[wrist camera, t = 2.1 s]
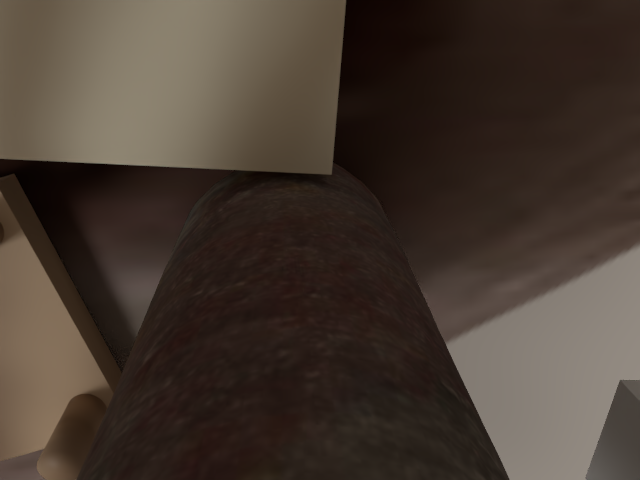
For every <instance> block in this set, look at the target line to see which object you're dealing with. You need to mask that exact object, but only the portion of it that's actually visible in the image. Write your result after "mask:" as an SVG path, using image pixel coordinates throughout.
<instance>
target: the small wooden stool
mask: <svg viewBox="0 0 640 480" xmlns="http://www.w3.org/2000/svg"><path fill="white" fill-rule="evenodd" d="M345 8H346V0H0V159H16V160H37V161H58V162H79V163H100V164H120V165H141V166H162V167H183V168H204V169H224V170H245V171H266V172H287V173H308V174H328V175H332V165H333V153H334V141H335V129H336V117H337V105H338V93H339V81H340V69H341V56H342V44H343V32H344V20H345Z"/></svg>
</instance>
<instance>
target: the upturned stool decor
mask: <svg viewBox="0 0 640 480" xmlns="http://www.w3.org/2000/svg"><path fill="white" fill-rule="evenodd" d="M121 374H122V372H121V371H120V369H119V367H118V365H117V363H116V361H115V359H114V358H113V356H112V354H111V352H110V350H109V348H108V346H107V345H106V343H105V341H104V339H103V337H102V335H101V334H100V332H99V330H98V328H97V326H96V324H95V322H94V321H93V319H92V317H91V315H90V313H89V311H88V309H87V308H86V306H85V304H84V302H83V300H82V298H81V297H80V295H79V293H78V291H77V289H76V287H75V285H74V284H73V282H72V280H71V278H70V276H69V274H68V272H67V271H66V269H65V267H64V265H63V263H62V261H61V259H60V258H59V256H58V254H57V252H56V250H55V248H54V247H53V245H52V243H51V241H50V239H49V237H48V235H47V234H46V232H45V230H44V228H43V226H42V224H41V222H40V221H39V219H38V217H37V215H36V213H35V211H34V210H33V208H32V206H31V204H30V202H29V200H28V198H27V197H26V195H25V193H24V191H23V189H22V187H21V185H20V184H19V182H18V180H17V178H16V176H15V174H11V175H8V176H4V177H1V178H0V461H3V460H6V459H10V458H14V457H17V456H21V455H24V454H28V453H31V452H35V451H38V450H42V449H44V450H43V452H42V454H41V456H40V458H39V459H38V462H37V470H38V472H39V474H40V475H41V476H42V477H43V478H45V479H46V480H76V479H77V477H78V475H79V473H80V471H81V468H82V466H83V464H84V461H85V459H86V457H87V455H88V452H89V450H90V448H91V445H92V443H93V441H94V438H95V436H96V434H97V431H98V429H99V427H100V424H101V422H102V420H103V417H104V415H105V413H106V410H107V408H108V406H109V404H110V401H111V399H112V397H113V395H114V392H115V389H116V387H117V384H118V382H119V379H120V377H121Z"/></svg>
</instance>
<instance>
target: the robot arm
mask: <svg viewBox="0 0 640 480" xmlns="http://www.w3.org/2000/svg"><path fill="white" fill-rule="evenodd" d="M586 479H587V480H640V380H620V382H619V385H618V387H617V390H616V393H615V396H614V399H613V402H612V404H611V408H610V410H609V413H608V416H607V419H606V421H605V424H604V427H603V430H602V433H601V436H600V439H599V441H598V444H597V447H596V450H595V453H594V455H593V458H592V461H591V464H590V467H589V470H588V472H587V475H586Z"/></svg>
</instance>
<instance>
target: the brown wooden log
mask: <svg viewBox="0 0 640 480" xmlns="http://www.w3.org/2000/svg"><path fill="white" fill-rule="evenodd" d="M77 480H509V478H508V475H507V473H506V471H505V469H504V467H503V464H502V462H501V460H500V458H499V456H498V453H497V452H496V450H495V447H494V445H493V443H492V442H491V439H490V437H489V435H488V433H487V431H486V429H485V427H484V425H483V423H482V421H481V419H480V416H479V414H478V412H477V410H476V408H475V406H474V404H473V402H472V400H471V398H470V395H469V393H468V391H467V389H466V387H465V385H464V383H463V381H462V379H461V377H460V375H459V372H458V370H457V368H456V366H455V364H454V362H453V360H452V357H451V355H450V353H449V351H448V349H447V346H446V344H445V342H444V340H443V338H442V336H441V334H440V332H439V330H438V328H437V325H436V323H435V321H434V318H433V316H432V314H431V311H430V309H429V307H428V305H427V303H426V301H425V298H424V296H423V294H422V292H421V290H420V287H419V285H418V283H417V281H416V279H415V277H414V275H413V273H412V270H411V268H410V266H409V264H408V261H407V258H406V256H405V254H404V252H403V250H402V248H401V246H400V243H399V241H398V239H397V237H396V235H395V233H394V231H393V228H392V226H391V224H390V222H389V221H388V219H387V217H386V215H385V213H384V211H383V208H382V206H381V204H380V202H379V201H378V199H377V198H376V197H375V196H374V195H373V194H372V192H371V191H370V190H369V189H368V188H367V187H366V186H365V185H364V184H363V183H362V182H361V181H360V180H358V179H357V178H356V177H354V176H353V175H352V174H350V173H349V172H348V171H346V170H345V169H344V168H342V167H340V166H338V165H337V164H335V163H333V165H332V175H328V174H308V173H287V172H266V171H245V170H237V171H236V172H234V173H232V174H230V175H228V176H227V177H225V178H224V179H222V180H221V181H219V182H218V183H216V184H215V185H214V186H212V187H211V188H210V189H209V190H208V191H207V192H206V193H205V194H204V195H203V196H202V197H201V198H200V199H199V200H198V201H197V203H196V204H195V206H194V207H193V208H192V210H191V211H190V213H189V215H188V218H187V220H186V222H185V225H184V227H183V229H182V231H181V233H180V235H179V238H178V240H177V242H176V244H175V247H174V249H173V252H172V254H171V256H170V259H169V261H168V264H167V266H166V268H165V270H164V272H163V275H162V277H161V280H160V282H159V284H158V287H157V289H156V292H155V294H154V297H153V299H152V301H151V304H150V306H149V309H148V311H147V314H146V316H145V318H144V321H143V323H142V325H141V328H140V330H139V333H138V335H137V337H136V340H135V342H134V345H133V347H132V349H131V352H130V354H129V357H128V359H127V362H126V364H125V366H124V369H123V372H122V374H121V377H120V379H119V382H118V384H117V387H116V389H115V392H114V395H113V397H112V399H111V401H110V404H109V406H108V408H107V410H106V413H105V415H104V417H103V420H102V422H101V424H100V427H99V429H98V431H97V434H96V436H95V438H94V441H93V443H92V445H91V448H90V450H89V452H88V455H87V457H86V459H85V461H84V464H83V466H82V468H81V471H80V473H79V475H78V477H77Z"/></svg>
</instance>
